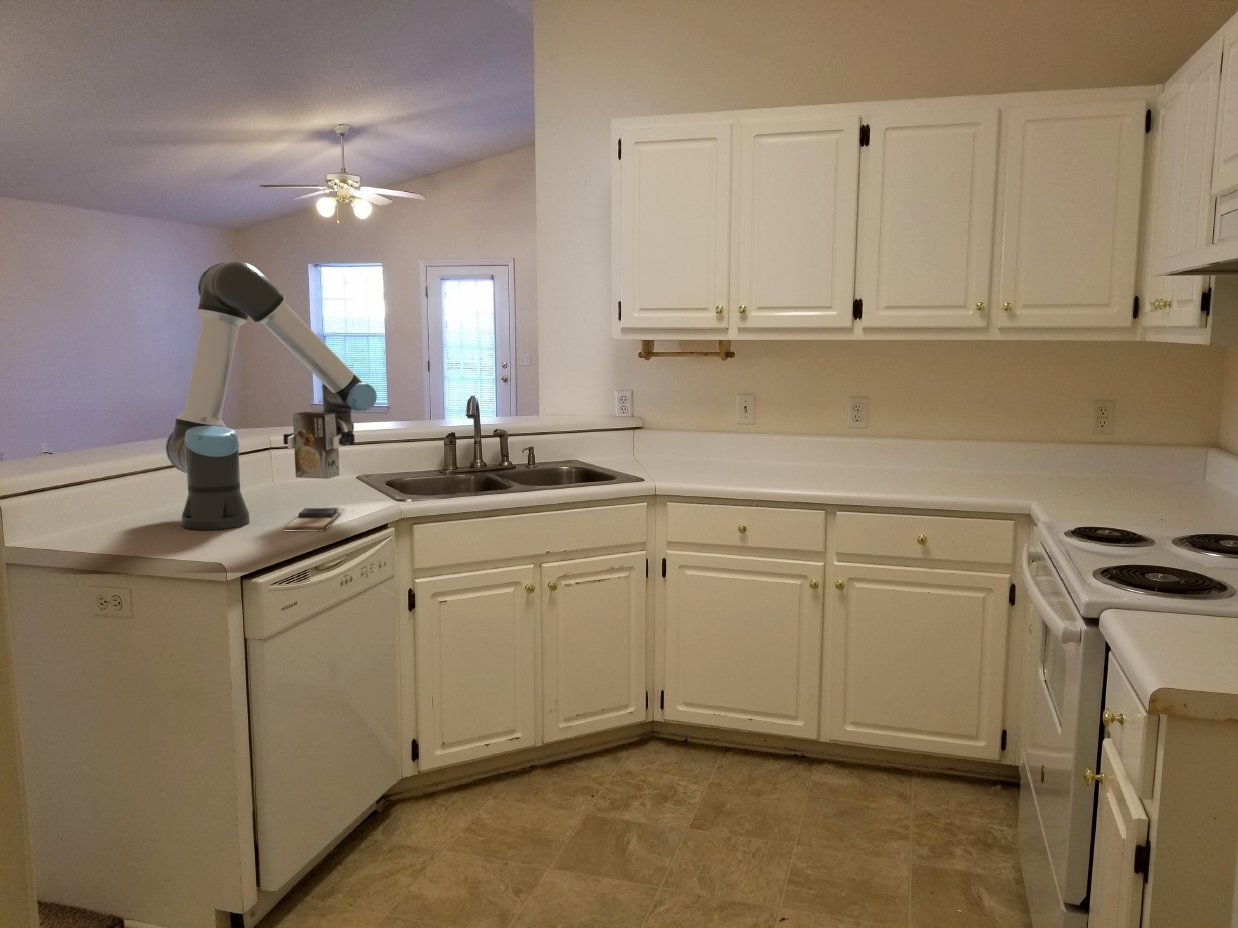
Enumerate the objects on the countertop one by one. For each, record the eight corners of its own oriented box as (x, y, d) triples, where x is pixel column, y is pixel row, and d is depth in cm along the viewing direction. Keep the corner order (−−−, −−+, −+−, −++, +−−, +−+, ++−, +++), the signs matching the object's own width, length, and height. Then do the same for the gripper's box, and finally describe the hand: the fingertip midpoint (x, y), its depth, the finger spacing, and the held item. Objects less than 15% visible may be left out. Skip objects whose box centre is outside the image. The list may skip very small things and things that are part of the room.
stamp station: (283, 531, 213) (282, 523, 213) (302, 515, 231) (302, 507, 231) (324, 531, 214) (324, 522, 214) (340, 515, 232) (340, 507, 232)
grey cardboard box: (340, 475, 227) (339, 412, 225) (327, 479, 221) (325, 414, 219) (307, 473, 229) (305, 411, 227) (293, 477, 223) (291, 413, 221)
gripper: (374, 446, 243) (360, 458, 222) (287, 446, 241) (264, 458, 219) (373, 419, 242) (359, 428, 220) (286, 418, 240) (263, 427, 218)
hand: (312, 443), depth 220 cm, fingers closed on grey cardboard box, 10 cm apart
